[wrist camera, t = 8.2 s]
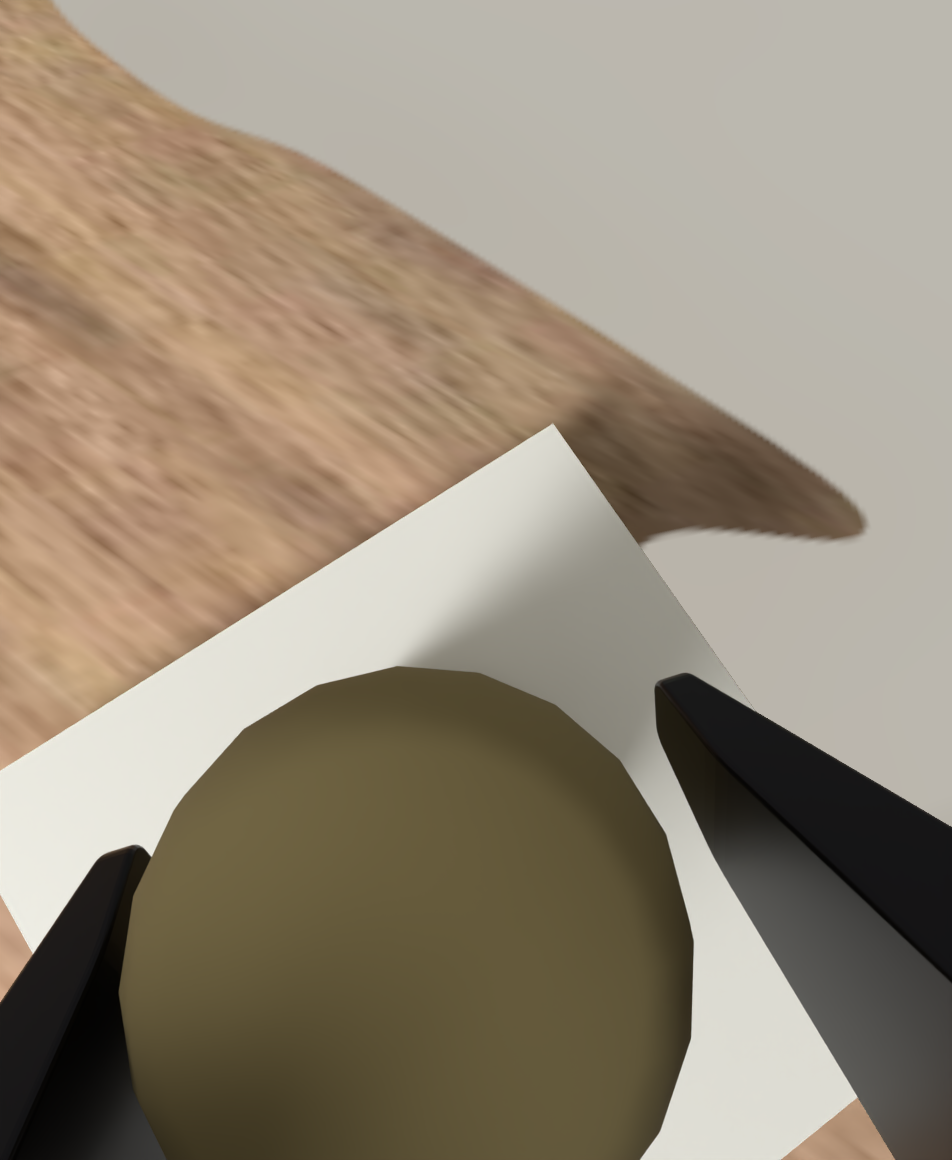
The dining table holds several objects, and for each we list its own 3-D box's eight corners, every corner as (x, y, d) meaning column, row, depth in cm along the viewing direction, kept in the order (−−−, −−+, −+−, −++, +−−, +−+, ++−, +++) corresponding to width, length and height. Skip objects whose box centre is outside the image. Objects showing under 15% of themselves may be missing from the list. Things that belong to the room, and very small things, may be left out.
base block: (885, 960, 19) (965, 1009, 16) (359, 1374, 17) (340, 1515, 14) (538, 462, 21) (553, 423, 18) (28, 785, 19) (-50, 802, 16)
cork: (251, 853, 16) (-200, 1170, 5) (401, 619, 17) (288, 464, 6) (488, 1009, 16) (545, 1718, 5) (628, 760, 16) (947, 868, 6)
